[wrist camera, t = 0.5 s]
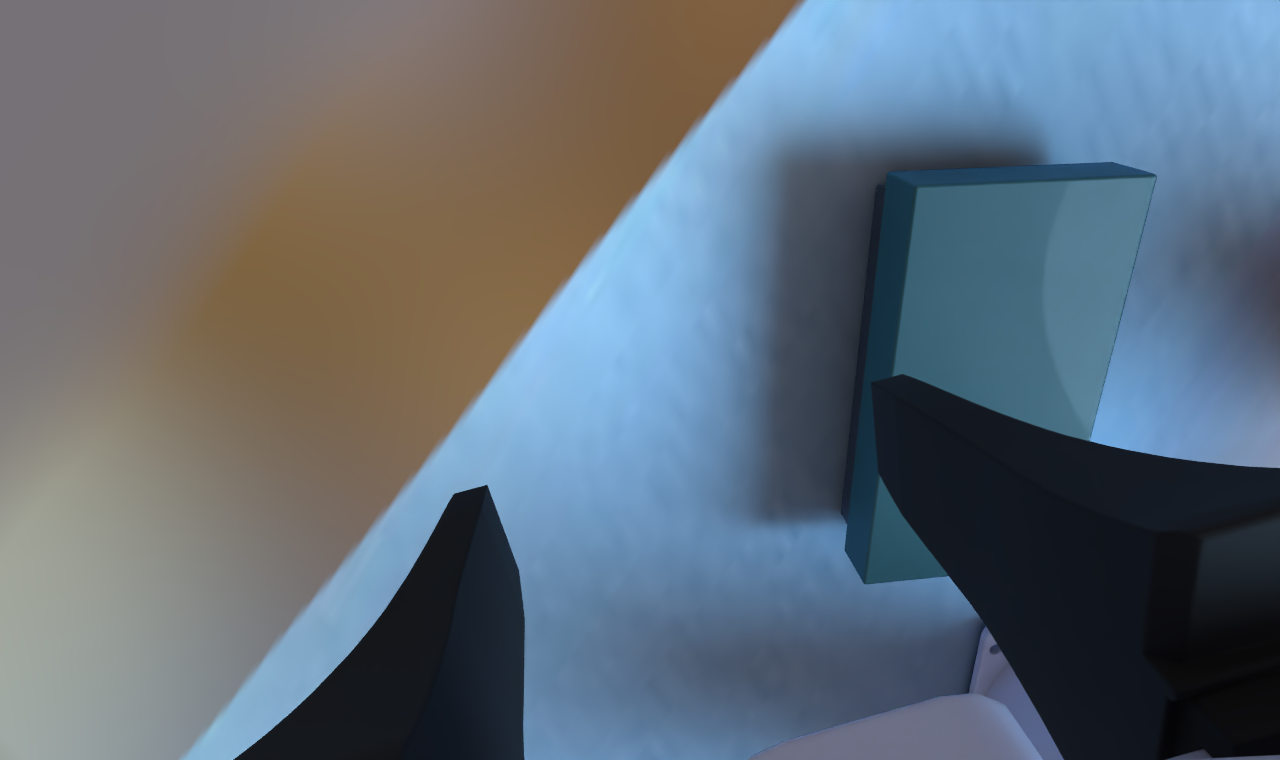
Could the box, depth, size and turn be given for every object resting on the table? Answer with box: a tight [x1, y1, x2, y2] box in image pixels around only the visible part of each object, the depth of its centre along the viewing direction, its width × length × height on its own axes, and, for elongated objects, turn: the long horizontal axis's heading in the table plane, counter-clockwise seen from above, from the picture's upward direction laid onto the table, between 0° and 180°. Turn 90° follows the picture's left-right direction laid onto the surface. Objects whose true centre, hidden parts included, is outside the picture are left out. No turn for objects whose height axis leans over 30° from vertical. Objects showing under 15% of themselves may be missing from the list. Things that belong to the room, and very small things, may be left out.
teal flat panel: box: [841, 162, 1157, 584], centre depth 24 cm, size 12×6×3 cm, turn 1°
